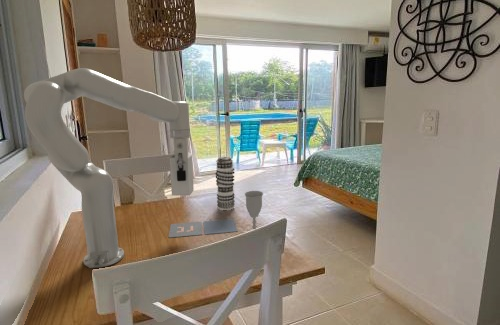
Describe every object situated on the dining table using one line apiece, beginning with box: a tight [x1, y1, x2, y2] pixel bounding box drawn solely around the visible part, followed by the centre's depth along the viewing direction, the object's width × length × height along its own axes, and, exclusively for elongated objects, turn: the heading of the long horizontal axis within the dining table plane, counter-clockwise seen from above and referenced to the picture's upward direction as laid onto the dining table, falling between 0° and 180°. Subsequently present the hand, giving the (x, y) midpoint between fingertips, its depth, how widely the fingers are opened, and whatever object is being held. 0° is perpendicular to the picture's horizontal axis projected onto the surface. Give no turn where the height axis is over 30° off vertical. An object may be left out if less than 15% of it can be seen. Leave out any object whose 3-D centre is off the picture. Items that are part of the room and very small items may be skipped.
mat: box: [203, 218, 238, 235], centre depth 130 cm, size 13×13×1 cm
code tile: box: [168, 221, 203, 239], centre depth 128 cm, size 13×13×1 cm
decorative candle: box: [214, 156, 236, 211], centre depth 150 cm, size 9×9×25 cm
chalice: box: [244, 190, 264, 230], centre depth 117 cm, size 7×7×18 cm
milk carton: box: [169, 150, 195, 197], centre depth 122 cm, size 7×7×19 cm
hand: (181, 177), depth 123 cm, fingers closed on milk carton, 8 cm apart
